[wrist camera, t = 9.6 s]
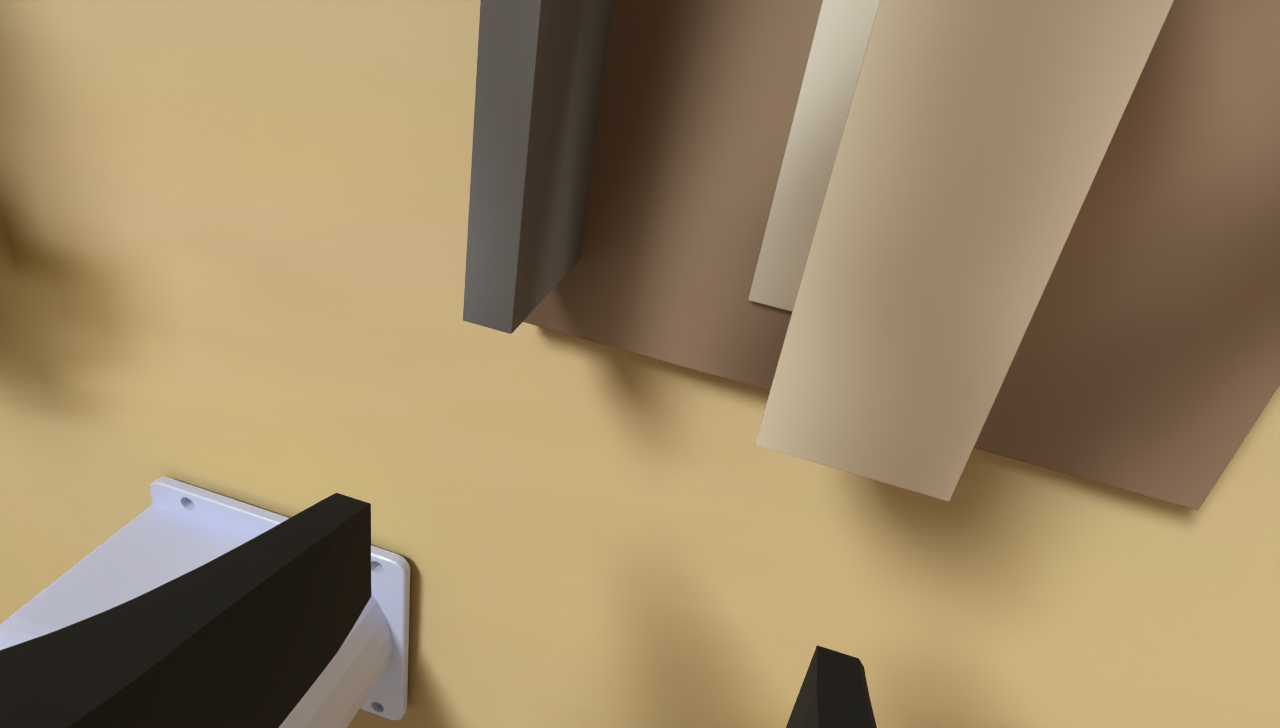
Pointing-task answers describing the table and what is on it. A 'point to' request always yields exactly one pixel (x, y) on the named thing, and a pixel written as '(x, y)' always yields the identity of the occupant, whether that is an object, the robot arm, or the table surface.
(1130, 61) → the beige wooden block
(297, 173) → the table surface
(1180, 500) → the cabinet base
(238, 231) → the table surface
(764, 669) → the table surface
